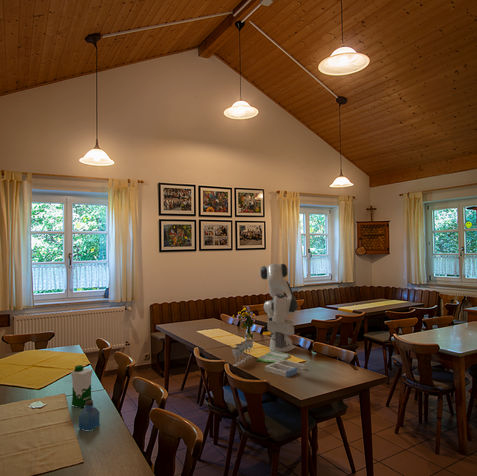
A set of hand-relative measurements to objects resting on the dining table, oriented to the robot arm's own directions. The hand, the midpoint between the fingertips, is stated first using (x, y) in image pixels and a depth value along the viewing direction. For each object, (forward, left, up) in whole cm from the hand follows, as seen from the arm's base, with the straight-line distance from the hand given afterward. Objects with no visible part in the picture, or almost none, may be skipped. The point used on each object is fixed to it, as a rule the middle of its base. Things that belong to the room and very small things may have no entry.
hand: (280, 340), depth 248 cm
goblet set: (0, -36, -21) cm, 42 cm away
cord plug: (0, 0, -5) cm, 5 cm away
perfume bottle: (+122, -15, -21) cm, 125 cm away
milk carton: (+114, -43, -21) cm, 123 cm away
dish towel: (-19, -22, -22) cm, 36 cm away
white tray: (-5, 0, -21) cm, 21 cm away
